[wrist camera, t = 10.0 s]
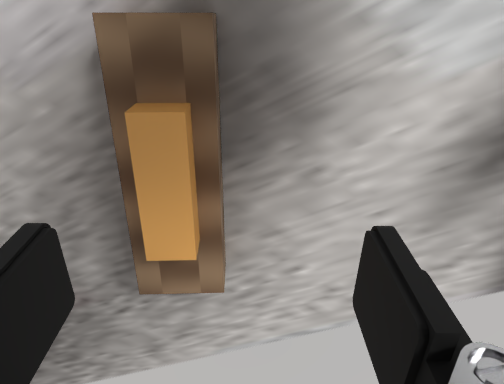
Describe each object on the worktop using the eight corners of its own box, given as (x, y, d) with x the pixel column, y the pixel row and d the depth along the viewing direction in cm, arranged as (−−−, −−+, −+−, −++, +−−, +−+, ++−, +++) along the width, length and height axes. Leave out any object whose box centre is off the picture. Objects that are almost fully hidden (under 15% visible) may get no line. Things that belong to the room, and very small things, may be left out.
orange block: (148, 93, 31) (124, 112, 24) (195, 93, 31) (185, 112, 24) (162, 218, 36) (146, 260, 29) (203, 217, 36) (196, 260, 30)
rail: (113, 13, 28) (92, 12, 24) (216, 13, 29) (212, 12, 25) (150, 265, 39) (139, 294, 35) (225, 263, 39) (224, 292, 35)
